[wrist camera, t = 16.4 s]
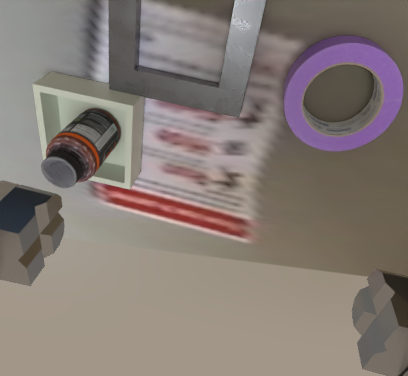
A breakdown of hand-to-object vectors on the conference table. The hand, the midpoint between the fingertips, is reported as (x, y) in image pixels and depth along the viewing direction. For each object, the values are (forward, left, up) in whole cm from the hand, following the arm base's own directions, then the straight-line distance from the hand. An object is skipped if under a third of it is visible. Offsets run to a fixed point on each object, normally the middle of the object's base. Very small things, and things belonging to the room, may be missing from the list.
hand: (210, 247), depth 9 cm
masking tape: (-10, +6, -35) cm, 37 cm away
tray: (+18, +17, -34) cm, 42 cm away
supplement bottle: (+17, +17, -34) cm, 41 cm away
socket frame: (+8, +3, -34) cm, 35 cm away
